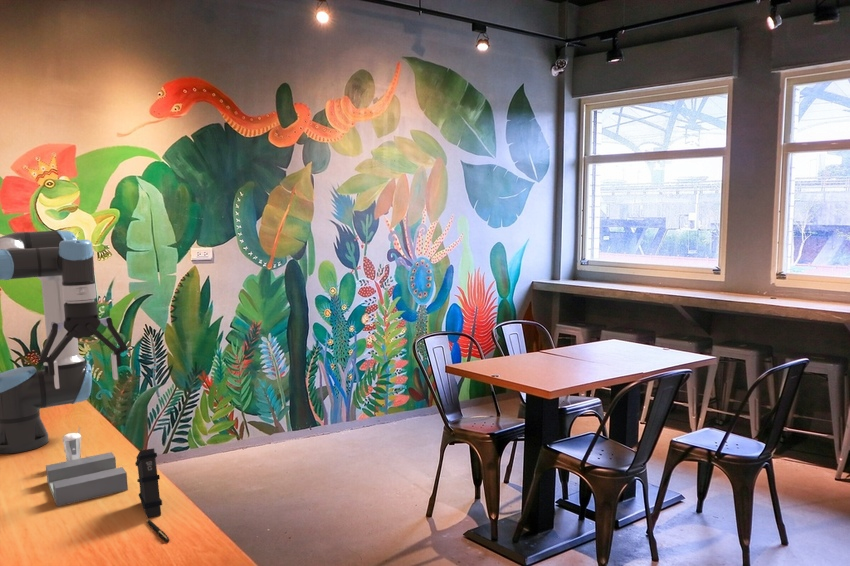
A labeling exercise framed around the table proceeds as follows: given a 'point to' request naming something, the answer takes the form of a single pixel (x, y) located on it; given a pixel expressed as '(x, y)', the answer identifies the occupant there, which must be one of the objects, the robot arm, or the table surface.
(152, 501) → the black ribbed column
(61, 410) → the table surface
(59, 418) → the table surface
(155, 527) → the fountain pen
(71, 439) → the milkshake
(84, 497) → the frame
